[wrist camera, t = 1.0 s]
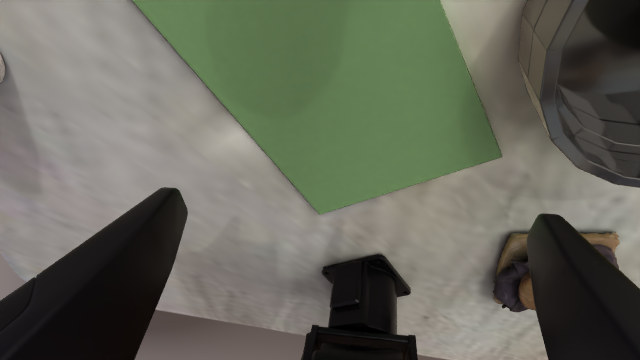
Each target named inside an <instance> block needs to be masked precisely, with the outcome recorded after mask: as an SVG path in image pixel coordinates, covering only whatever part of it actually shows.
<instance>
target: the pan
mask: <svg viewBox="0 0 640 360" xmlns="http://www.w3.org/2000/svg"><path fill="white" fill-rule="evenodd" d="M518 61H519V65H520V68H521V71H522V74H523V78H524V81H525V84H526V87H527V90H528V94H529V96H530V98H531V100H532V102H533V104H534V106H535V108H536V111H537V113H538V114H539V117H540V119H541V121H542V123H543V125H544V127H545V129H546V131H547V133H548V135H549V137H550V139H551V141H552V142H553V143H554V144H555V145H556V146H557V147H558V148H559V149H560V150H561V151H562V153H563V154H564V155H565V156H566V157H567V158H568V159H569V160H570V161H571V162H572V163H573V164H574V165H575V166H576V167H577V168H579V169H581V170H584V171H586V172H588V173H590V174H593V175H595V176H597V177H599V178H602V179H604V180H606V181H609V182H611V183H613V184H617V185H624V186H631V187H638V188H640V0H528V1H527V3H526V6H525V8H524V10H523V14H522V22H521V33H520V43H519V54H518Z"/></svg>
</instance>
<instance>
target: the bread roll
mask: <svg viewBox="0 0 640 360" xmlns="http://www.w3.org/2000/svg"><path fill="white" fill-rule="evenodd" d="M580 234H581V235H582V236H583V237H584V238H585V239H586V240H587V241H589V242H590V243H591V244H592V245H593V246H594V247H595V248H596V249H597V250H598V251H599V252H600V253H602V254H603V255H604V256H605V257H606V258H607V259H608V260H609V261H610V262H611V263H612V264H613V265H614V266H616V267H617V268H618V269H619V267H618V264H617V259H616V257H615V254H614V253H615V249H616V247H617V245H619V240H618V237H619V236H618V234H617V233H616V232H615V233H611V234H612V235H611V234H610V233H609V232H608V233H605V234H604V235H603V234H599V233H598V234H597V233H587V234H585V233H584V234H583V233H580ZM527 235H528V234H527V233H526V234H521V233H519V234H517V233H515V234H513V233H511V236H510V237H509V239H508V241H507V242H506V245H505V248H504V249H503V252H502V256H500V257H501V258H500V260H499V262H498V265H499V266H498V268H497V273H496V280H495V281H494V283H495V287H494V291H493V292H494V299H495V302H496V303H498V304H503V305H502V308H506V307H507V308H509V309H510V311H513V312H521V311H524V310H527V309H531V310H536V308H535V304H534V298H533V291H532V284H531V276H530V268H529V260H528V253H527V244H526V240H527Z"/></svg>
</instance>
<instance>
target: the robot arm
mask: <svg viewBox="0 0 640 360" xmlns="http://www.w3.org/2000/svg"><path fill="white" fill-rule="evenodd" d="M187 215H188V211H187V207H186V205H185V202H184V200H183V198H182V195H181V193H180V191H179V190H178V189H177V188H167V187H164V188H161V189H159V190H157V191H156V192H155V193H153V194H152V195H150V196H149V197H147V198H146V199H145V200H143V201H142V202H140V203H139V204H138V205H136V206H135V207H133V208H132V209H130V210H129V211H128V212H126V213H125V214H123V215H122V216H120V217H119V218H118V219H116V220H115V221H113V222H112V223H111V224H109V225H108V226H106V227H105V228H103V229H102V230H101V231H99V232H98V233H96V234H95V235H94V236H92V237H91V238H89V239H88V240H86V241H85V242H84V243H82V244H81V245H79V246H78V247H76V248H75V249H74V250H72V251H71V252H69V253H68V254H67V255H65V256H64V257H62V258H61V259H59V260H58V261H57V262H55V263H54V264H52V265H51V266H49V267H48V268H47V269H45V270H44V271H42V272H41V273H39V274H38V275H37V276H36V278H35V277H34V278H32V279H31V280H29V281H28V282H27V283H25V284H24V285H22V286H21V287H19V288H18V289H17V290H15V291H14V292H12V293H11V294H9V295H8V296H6V297H5V298H3V299H2V300H0V360H134V359H135V357H136V354H137V352H138V349H139V347H140V344H141V342H142V340H143V338H144V335H145V333H146V330H147V328H148V326H149V323H150V320H151V318H152V316H153V313H154V311H155V309H156V306H157V304H158V301H159V299H160V297H161V294H162V292H163V289H164V287H165V285H166V282H167V280H168V277H169V275H170V272H171V270H172V267H173V264H174V261H175V258H176V254H177V251H178V247H179V244H180V240H181V237H182V234H183V230H184V227H185V223H186V220H187ZM526 244H527V253H528V260H529V268H530V276H531V284H532V291H533V298H534V304H535V308H536V313H537V317H538V321H539V325H540V328H541V332H542V336H543V340H544V344H545V348H546V352H547V356H548V360H640V289H639V288H638V287H637V286H636V285H635V284H634V283H633V282H632V281H631V280H630V279H629V278H627V277H626V276H625V275H624V274H623V273H622V272H621V271H620V270H619V269H618V268H617V267H616V266H614V265H613V264H612V263H611V262H610V261H609V260H608V259H607V258H606V257H605V256H604V255H603V254H602V253H600V252H599V251H598V250H597V249H596V248H595V247H594V246H593V245H592V244H591V243H590V242H589V241H587V240H586V239H585V238H584V237H583V236H582V235H581V234H580V233H579V232H578V231H577V230H576V229H574V228H573V227H572V226H571V225H570V224H569V223H568V222H567V221H566V220H565V219H564V218H563V217H561V216H560V215H557V214H539V215H538V216H537V218H536V220H535V222H534V224H533V225H532V227H531V229H530V231H529V233H528V235H527V240H526ZM322 274H323V275H324V276H325V277H326V278H327V279H328V280H329V281H330V282H331V283H332V284H333V285H332V293H331V300H330V307H331V310H330V317H329V325H328V327H319V325H312V329H311V332H310V333H308V334H307V335H306V342H305V347H304V351H303V355H302V358H301V360H418V359H417V348H416V337H415V335H409V336H405V335H397V297H400V296H406V295H409V294H410V293H411V290H410V287H409V286H408V285H407V284H406V282H405V281H404V280H403V279H402V277H401V276H400V275H399V274H398V272H397V271H396V270H395V269H394V267H393V266H392V265H391V264H390V262H389V261H388V260H387V259H386V257H385V256H383V255H380V254H378V255H373V256H369V257H365V258H361V259H357V260H352V261H348V262H344V263H340V264H336V265H331V266H327V267H324V268H323V269H322Z"/></svg>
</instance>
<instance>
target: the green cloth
mask: <svg viewBox="0 0 640 360" xmlns="http://www.w3.org/2000/svg"><path fill="white" fill-rule="evenodd" d="M132 1H133V2H134V3H135V4H136V5H137V7H138V8H139V9H140V10H141V11H142V12H143V13H144V15H145V16H146V17H147V18H148V19H149V20H150V21H151V23H152V24H153V25H154V26H155V27H156V28H157V29H158V31H159V32H160V33H161V34H162V35H163V36H164V37H165V39H166V40H167V41H168V42H169V43H170V44H171V45H172V47H173V48H174V49H175V50H176V51H177V52H178V53H179V55H180V56H181V57H182V58H183V59H184V60H185V61H186V63H187V64H188V65H189V66H190V67H191V68H192V69H193V71H194V72H195V73H196V74H197V75H198V76H199V77H200V79H201V80H202V81H203V82H204V83H205V84H206V85H207V87H208V88H209V89H210V90H211V91H212V92H213V93H214V95H215V96H216V97H217V98H218V99H219V100H220V101H221V103H222V104H223V105H224V106H225V107H226V108H227V109H228V111H229V112H230V113H231V114H232V115H233V116H234V117H235V119H236V120H237V121H238V122H239V123H240V124H241V125H242V127H243V128H244V129H245V130H246V131H247V132H248V133H249V135H250V136H251V137H252V138H253V139H254V140H255V141H256V143H257V144H258V145H259V146H260V147H261V148H262V149H263V151H264V152H265V153H266V154H267V155H268V156H269V157H270V159H271V160H272V161H273V162H274V163H275V164H276V165H277V167H278V168H279V169H280V170H281V171H282V172H283V173H284V175H285V176H286V177H287V178H288V179H289V180H290V181H291V183H292V184H293V185H294V186H295V187H296V188H297V189H298V191H299V192H300V193H301V194H302V195H303V196H304V197H305V199H306V200H307V201H308V202H309V203H310V204H311V205H312V207H313V208H314V209H315V210H316V211H317V212H318V213H319V214H323V213H326V212H330V211H333V210H336V209H339V208H342V207H345V206H349V205H352V204H355V203H358V202H361V201H364V200H368V199H371V198H374V197H377V196H380V195H383V194H386V193H390V192H393V191H396V190H399V189H402V188H405V187H409V186H412V185H415V184H418V183H421V182H424V181H428V180H431V179H434V178H437V177H440V176H443V175H447V174H450V173H453V172H456V171H459V170H462V169H465V168H469V167H472V166H475V165H478V164H481V163H484V162H488V161H491V160H494V159H497V158H500V157H502V154H501V151H500V149H499V146H498V144H497V142H496V139H495V137H494V134H493V132H492V129H491V127H490V124H489V122H488V119H487V117H486V114H485V112H484V109H483V107H482V104H481V102H480V99H479V97H478V94H477V92H476V89H475V87H474V84H473V82H472V79H471V77H470V74H469V72H468V69H467V67H466V64H465V62H464V59H463V57H462V54H461V52H460V49H459V47H458V44H457V42H456V39H455V37H454V34H453V32H452V29H451V27H450V24H449V22H448V19H447V17H446V14H445V12H444V9H443V7H442V4H441V2H440V0H132Z"/></svg>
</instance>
